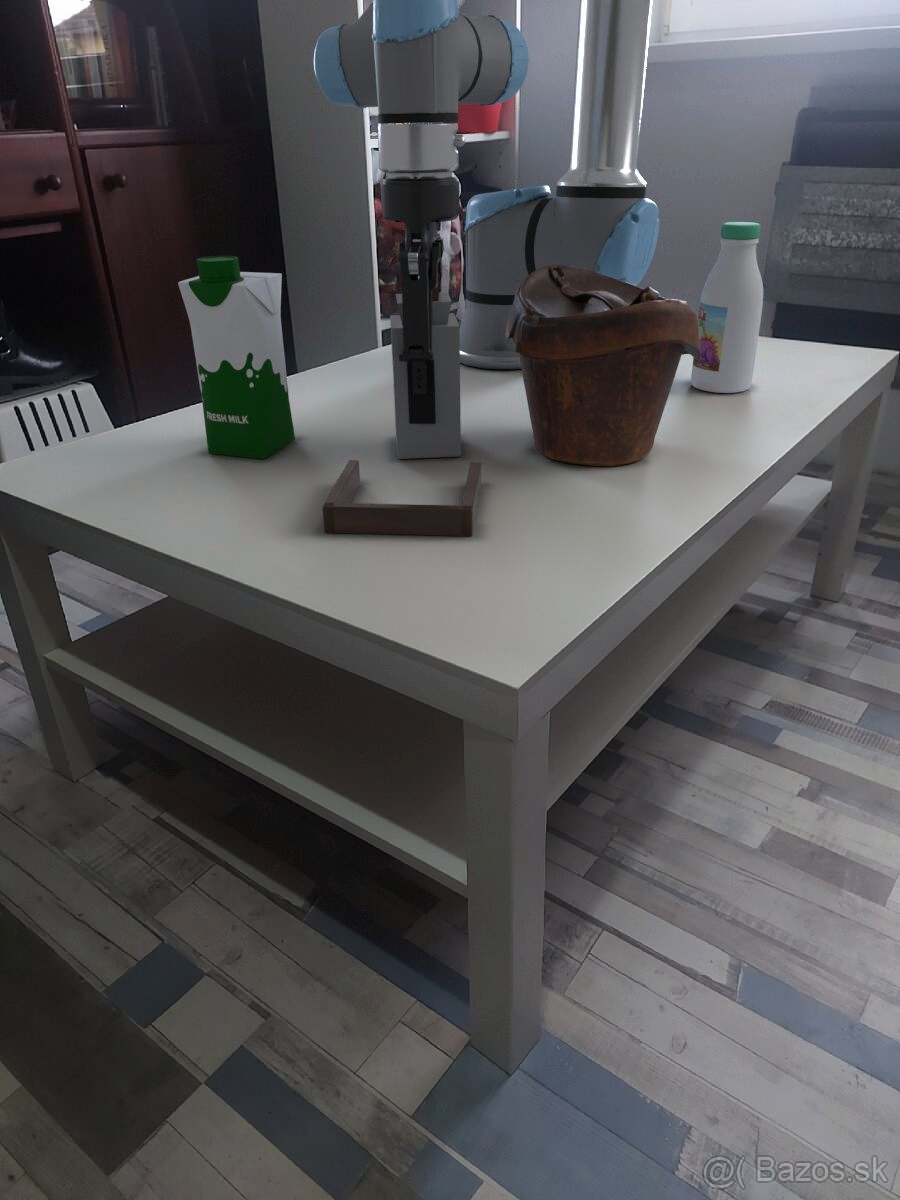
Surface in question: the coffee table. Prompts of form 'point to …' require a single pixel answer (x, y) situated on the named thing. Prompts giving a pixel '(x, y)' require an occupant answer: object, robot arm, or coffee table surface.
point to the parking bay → (399, 510)
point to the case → (597, 362)
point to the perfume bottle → (446, 356)
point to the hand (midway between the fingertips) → (426, 412)
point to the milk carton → (239, 357)
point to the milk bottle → (730, 313)
